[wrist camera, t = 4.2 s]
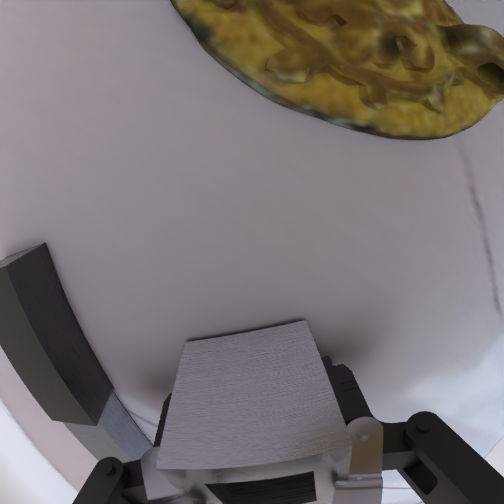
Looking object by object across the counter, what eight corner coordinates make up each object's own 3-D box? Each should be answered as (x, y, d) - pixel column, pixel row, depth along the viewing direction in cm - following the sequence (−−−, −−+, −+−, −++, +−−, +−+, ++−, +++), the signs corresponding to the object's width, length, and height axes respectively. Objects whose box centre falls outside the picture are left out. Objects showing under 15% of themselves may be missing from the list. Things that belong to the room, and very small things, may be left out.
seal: (162, 114, 10) (474, 167, 11) (109, 111, 6) (540, 193, 6) (190, -61, 6) (477, 15, 7) (170, -118, 2) (534, 4, 2)
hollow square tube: (184, 342, 11) (155, 468, 5) (306, 319, 11) (352, 445, 5) (217, 415, 13) (212, 518, 7) (315, 399, 13) (343, 501, 7)
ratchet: (218, 493, 17) (217, 556, 11) (149, 491, 17) (140, 547, 11) (71, 234, 10) (-46, 309, 3) (-9, 263, 10) (-91, 320, 4)
